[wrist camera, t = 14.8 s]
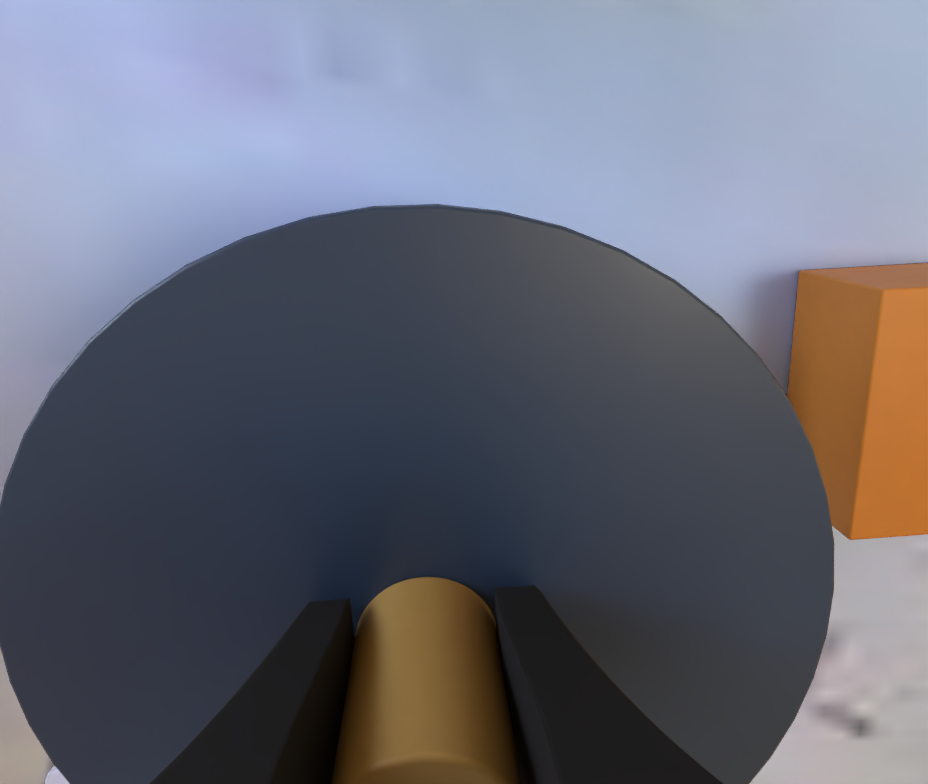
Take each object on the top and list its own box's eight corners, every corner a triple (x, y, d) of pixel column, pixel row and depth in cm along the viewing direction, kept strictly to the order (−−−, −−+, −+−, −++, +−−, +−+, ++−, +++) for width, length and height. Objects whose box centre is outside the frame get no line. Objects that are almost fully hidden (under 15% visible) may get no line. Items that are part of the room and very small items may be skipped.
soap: (914, 471, 19) (1011, 528, 16) (778, 480, 19) (849, 541, 16) (947, 261, 18) (1065, 278, 14) (798, 270, 17) (882, 289, 14)
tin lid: (637, 922, 14) (728, 1243, 10) (-9, 808, 12) (-240, 1138, 8) (934, 346, 11) (1275, 454, 6) (94, 76, 9) (-214, -26, 5)
